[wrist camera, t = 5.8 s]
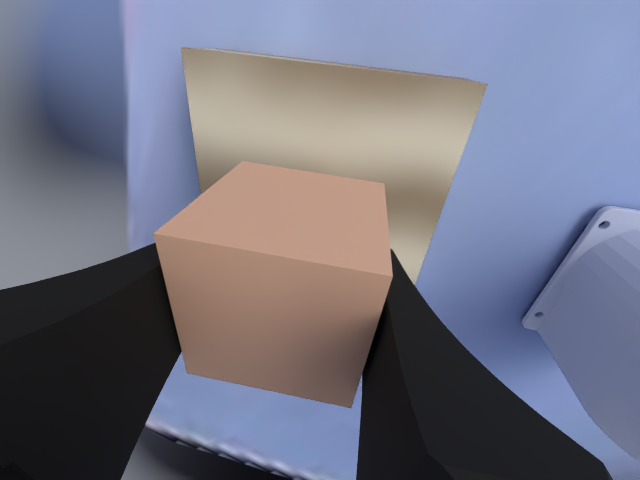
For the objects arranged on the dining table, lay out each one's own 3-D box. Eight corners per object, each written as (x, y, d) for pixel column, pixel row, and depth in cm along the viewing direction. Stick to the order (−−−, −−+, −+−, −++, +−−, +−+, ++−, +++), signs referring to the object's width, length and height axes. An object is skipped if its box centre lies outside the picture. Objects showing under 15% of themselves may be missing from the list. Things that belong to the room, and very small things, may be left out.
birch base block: (399, 269, 21) (405, 310, 17) (236, 242, 22) (212, 276, 18) (460, 77, 14) (487, 84, 11) (223, 49, 15) (180, 47, 12)
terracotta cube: (358, 291, 13) (351, 408, 8) (246, 271, 13) (187, 373, 9) (384, 183, 10) (392, 276, 6) (242, 160, 10) (153, 233, 6)
